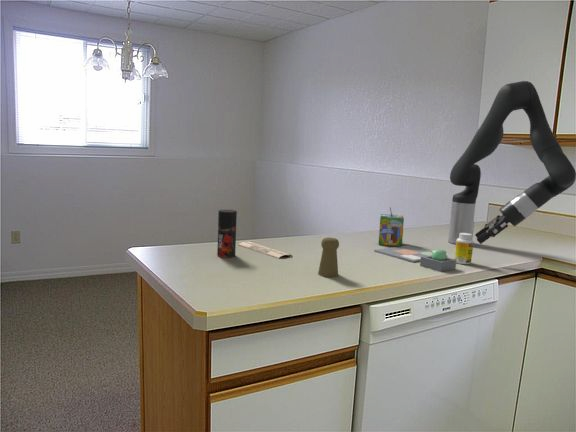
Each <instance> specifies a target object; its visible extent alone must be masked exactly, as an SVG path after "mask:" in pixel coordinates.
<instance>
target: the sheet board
mask: <svg viewBox="0 0 576 432" xmlns="http://www.w3.org/2000/svg"><path fill="white" fill-rule="evenodd" d="M373 252H375V253H379V254H382V255H386V256H389V257H392V258H396V259H398V260H401V261H402V260H403V261H406V262H410V263H418V262H419V263H420V261H421V257H424V256H430V255H432V250H429V249H428V250H427V249H424V248H420V247H415V246H411V245H402V246H391V247H385V248H377V249H374V251H373ZM446 257H447V258H448V255H447V254H446Z"/></svg>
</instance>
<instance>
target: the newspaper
mask: <svg viewBox="0 0 576 432" xmlns="http://www.w3.org/2000/svg"><path fill="white" fill-rule="evenodd" d="M238 246H241V247H243V248H246V249H249V250H252V251H254V252H255V251H256V252H257V253H261V254H264V255H267V256H270V257H272V258H276V259H278V260H279V259H280V258H281V257H283V256H287V257H291V258H292V257H293V255H292V254H289V253H286V252H283V251H280V250H277V249H273V248H271V247H267V246H264V245H261V244H257V243H255V242H251V241H243V242H238Z"/></svg>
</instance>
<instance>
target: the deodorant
mask: <svg viewBox="0 0 576 432" xmlns="http://www.w3.org/2000/svg"><path fill="white" fill-rule="evenodd" d="M237 214H238V211H237V210H234V209H218V216H217V220H218V221H217V222H218V223H217V251H216V252H217V253H216V255H217V257H219V258H227V259H228V258H230V259H231V258H234V257H236V243H237V241H236V240H237V221H238V219H237V218H238V217H237V216H238V215H237Z"/></svg>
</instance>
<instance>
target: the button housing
mask: <svg viewBox="0 0 576 432" xmlns="http://www.w3.org/2000/svg"><path fill="white" fill-rule="evenodd" d="M431 258H432V255H430V256H424V257H421V261H420V262H419V266H420V267H423V268H426V269H430V270H433V271H437V272H440V273H441V272H446V271H451V270H455V269H456V268H457V263H456V260H455V259H454V258H452V257H448V256H447V257H446V260H445V261H438V260H434V259H431Z"/></svg>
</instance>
